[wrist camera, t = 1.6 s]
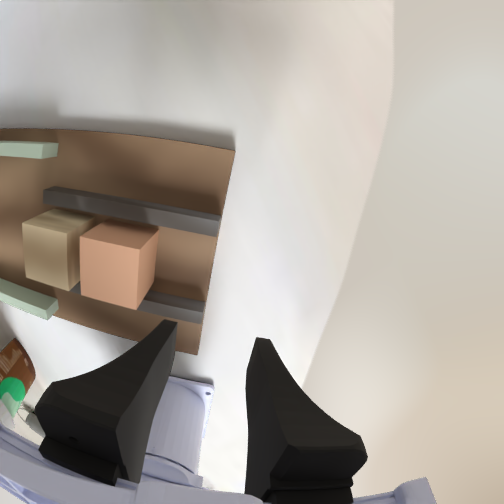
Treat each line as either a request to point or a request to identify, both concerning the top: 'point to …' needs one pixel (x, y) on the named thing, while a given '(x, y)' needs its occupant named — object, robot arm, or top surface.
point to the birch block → (55, 247)
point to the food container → (14, 380)
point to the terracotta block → (118, 262)
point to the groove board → (123, 219)
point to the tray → (8, 290)
